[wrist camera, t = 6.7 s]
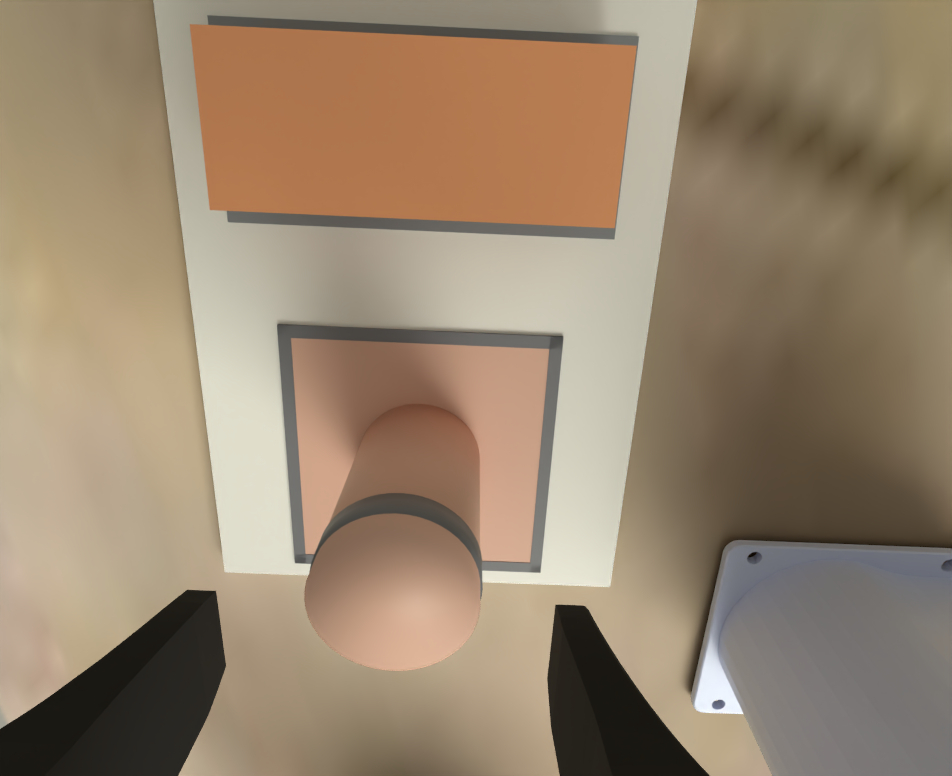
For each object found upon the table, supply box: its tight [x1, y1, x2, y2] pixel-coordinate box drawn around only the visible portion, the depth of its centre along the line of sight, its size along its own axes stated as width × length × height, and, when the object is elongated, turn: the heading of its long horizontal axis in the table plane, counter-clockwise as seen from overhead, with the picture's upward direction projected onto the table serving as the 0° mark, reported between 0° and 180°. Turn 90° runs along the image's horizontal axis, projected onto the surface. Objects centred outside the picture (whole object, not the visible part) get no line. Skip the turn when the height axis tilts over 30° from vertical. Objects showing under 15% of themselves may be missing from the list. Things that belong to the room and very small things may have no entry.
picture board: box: [153, 0, 697, 587], centre depth 19 cm, size 14×20×1 cm
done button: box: [190, 24, 637, 228], centre depth 15 cm, size 10×4×2 cm, turn 88°
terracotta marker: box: [304, 404, 482, 671], centre depth 17 cm, size 4×4×7 cm
